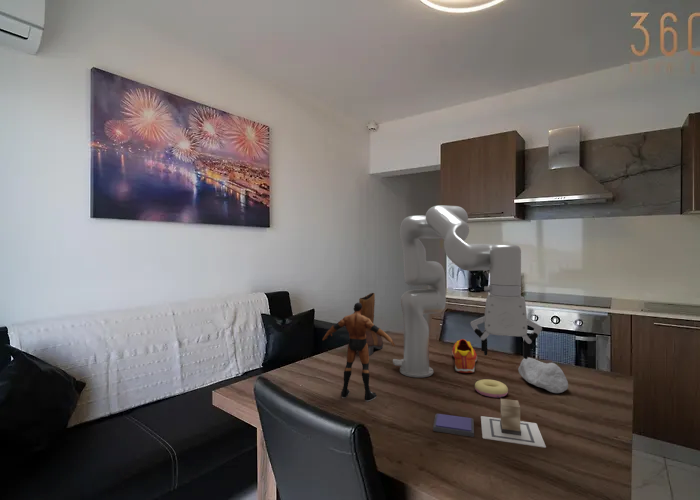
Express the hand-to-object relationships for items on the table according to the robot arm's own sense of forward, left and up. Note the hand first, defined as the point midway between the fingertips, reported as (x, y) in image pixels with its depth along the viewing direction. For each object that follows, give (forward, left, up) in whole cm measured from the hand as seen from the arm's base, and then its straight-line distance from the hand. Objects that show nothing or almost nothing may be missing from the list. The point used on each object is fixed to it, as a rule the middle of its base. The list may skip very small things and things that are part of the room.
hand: (505, 355), depth 93 cm
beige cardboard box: (+1, -2, -19) cm, 19 cm away
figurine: (-43, +7, -19) cm, 48 cm away
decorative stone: (+14, +34, -19) cm, 42 cm away
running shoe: (-10, +52, -19) cm, 56 cm away
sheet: (+1, -2, -19) cm, 19 cm away
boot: (-53, +60, -19) cm, 82 cm away
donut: (-2, +23, -19) cm, 30 cm away
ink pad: (-13, -4, -19) cm, 23 cm away
